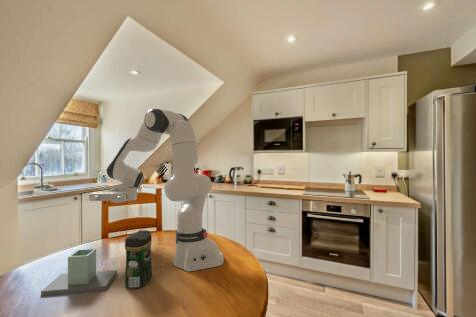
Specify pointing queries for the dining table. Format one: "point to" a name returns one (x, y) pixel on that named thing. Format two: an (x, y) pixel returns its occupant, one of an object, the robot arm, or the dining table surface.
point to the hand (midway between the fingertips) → (107, 198)
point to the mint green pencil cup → (81, 266)
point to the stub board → (96, 284)
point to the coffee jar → (138, 259)
